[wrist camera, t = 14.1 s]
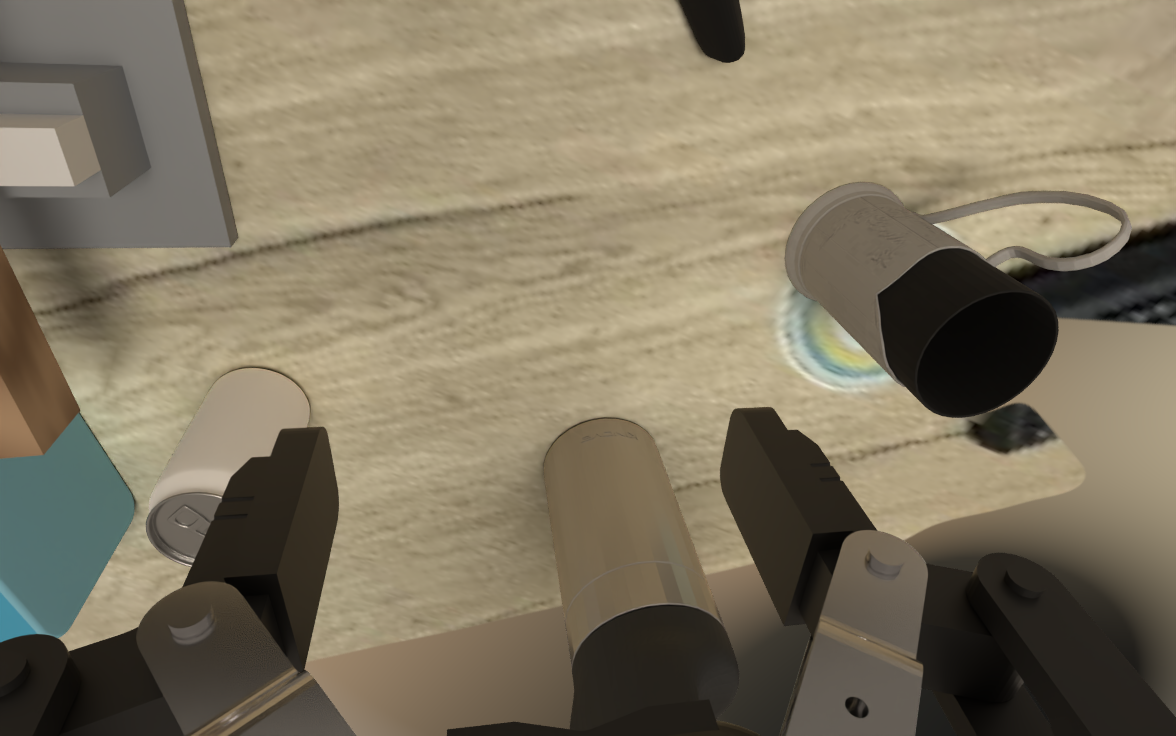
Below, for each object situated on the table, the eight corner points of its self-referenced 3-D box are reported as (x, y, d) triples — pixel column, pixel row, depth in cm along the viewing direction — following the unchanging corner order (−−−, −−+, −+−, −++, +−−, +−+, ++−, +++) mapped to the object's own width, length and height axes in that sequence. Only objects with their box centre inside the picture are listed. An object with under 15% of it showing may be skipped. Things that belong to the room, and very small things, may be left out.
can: (269, 457, 49) (218, 591, 39) (188, 403, 45) (109, 535, 35) (331, 404, 47) (295, 530, 37) (251, 346, 44) (188, 467, 34)
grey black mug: (761, 240, 45) (874, 355, 33) (952, 95, 42) (1158, 161, 30) (820, 324, 50) (939, 454, 37) (997, 199, 46) (1193, 294, 34)
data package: (-22, 382, 43) (-173, 518, 32) (53, 369, 43) (-74, 500, 33) (78, 518, 49) (-23, 667, 39) (142, 506, 49) (59, 651, 39)
